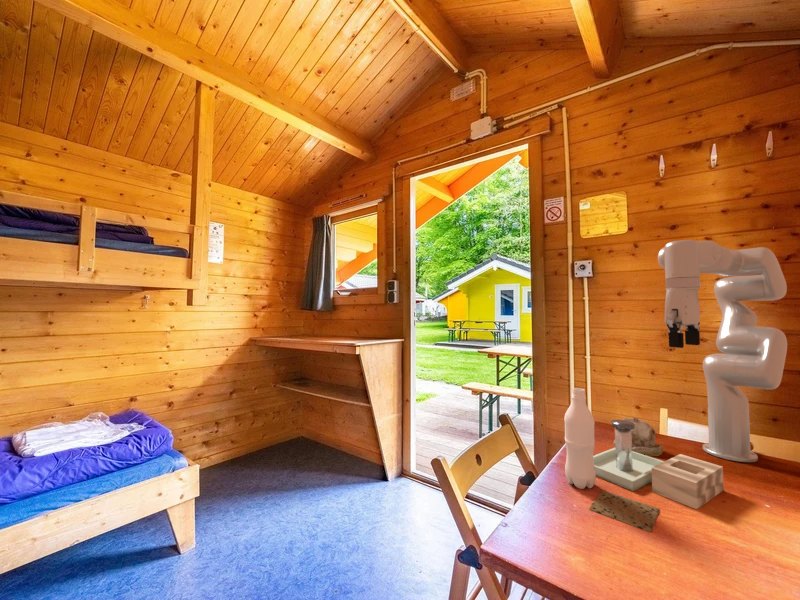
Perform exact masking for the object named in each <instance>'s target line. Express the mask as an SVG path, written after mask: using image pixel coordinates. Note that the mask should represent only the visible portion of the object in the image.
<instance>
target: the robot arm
mask: <svg viewBox="0 0 800 600" xmlns="http://www.w3.org/2000/svg"><path fill="white" fill-rule="evenodd" d="M657 262H658V264H659V266H660V267H661V268H662V269H663V270H664V273H665V274H664V277H665V291H666V293H665V298H664V299H665V301H664V323H665V325H666V326H667V333H668V347H670V348H675V349H676V348H678V349H683V348H684V347H685V346H684V345H686V346H687V345H689V346H690V345H691V346H700V344H701V338H700V337H701V336H700V324H701V322H700V321H701V309H700V307H701V306H700V298H699V292H698V290H701V274H711V275H716V276H717V275H718V276H722V277H723V278H720V279H718V280H716V282H715V283H714V287H713V292H714V296H715V299H716V301H717V304H718V307H719V309H720V311H721V321H720V324H719V327H718V331H717V335H716V339H715V345H716V348H717V351H720V352H721V353H712V354H709V355H706V356H705V358H703V362H702V371H703V375H704V379H705V383H706V391H707V392H706V393H707V421H708V424H707V425H708V442H706V443H703V444H702V450H703V451H704V452H706V453H707V454H710V455H712V456H714V457H717V458H720V459H724V460H728V461H733V462H738V463H740V462H741V463H756V462H757V461H758V460H759V457H758V454H756V453H755V452H753V451H751V431H750V430H751V429H750V427H751V426H750V403H749V399H748V397H747V396H746V394H745V393H744V392H743V391H742V389H741V388H740V387H746V388H753V389H759V390H771V391H772V390H775V389H777V388H778V387H779V386H780V385H781V382H782V378H783V373H784V367H785V363H786V357H787V353H788V352H787V351H788V340H787V339H788V338H787V337H786V333H784V331H782V330H781V329H779V328H776V327H771V326H768V327H767V326H757V323H758V315H757V314H756V313H755V311H753V310H752V309H751V308H750V307H748V306H747V305H745V304H743V302H749V301H750V302H761V301H762V302H763V301H764V302H765V301H768V302H769V301H771V302H772V301H778V300H781V299H783V298H784V297H785V296H786V294H787V293H788V292H787V290H788V287H787V281H786V278H785V276H784V273H783V271H782V268H781V265H780V263H779V260H778V258H777V257H776V255H775V253H774V252H773V250H771V249H770V248H768V247H765V246H760V247H759V246H758V247H752V248H742V249H730V248H727V247H723V246H720V245H719V244H718V243H717V242H715V241H714V240H713V241H712V240H698V241H697V240H694V239H681V240H674V241H670V242H667V243H666V244H665V246H663V247H662V248H661V249H659V252H658V254H657ZM684 327H685V330H684V333H683V328H684Z"/></svg>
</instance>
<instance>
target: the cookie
mask: <svg viewBox="0 0 800 600" xmlns="http://www.w3.org/2000/svg"><path fill="white" fill-rule="evenodd" d="M588 510H589V511H591V512H594V513H596V514H599V515H601V516H605V517H608V518H610V519H612V520H615V521H618V522H621V523H623V524H626V525H629V526H632V527H635V528H637V529H640V530H641V531H645V532H648V533H652V531H653V529H654V526H655V524H656V521H657V519H658V515H660V514H659V513H660V512H661V511H660V510H661V509H660V508H659V507H656V506H653V505H649V504H647V503H643V502H641V501H637V500H634V499H632V498H628V497H625V496H623V495H619V494H616V493H612V492H610V491H606V490H602V491H601V492H600V493H599V495H598V497H596V499H595V500H594V501H593V502H591V505H590V506H589V508H588Z"/></svg>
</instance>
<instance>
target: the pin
mask: <svg viewBox="0 0 800 600" xmlns="http://www.w3.org/2000/svg"><path fill="white" fill-rule="evenodd" d="M610 423H611V424H610V425H611V426H612V427H613V428H614V440H615V445H614V448H615V449H616V468H617V469H618V470H620V471H624V472H632V471H633V460H632V434H631V430H632V429H635V424H634V423H632V422H629V421H625V420H623V419H612V420H611V421H610Z"/></svg>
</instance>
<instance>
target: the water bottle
mask: <svg viewBox="0 0 800 600" xmlns="http://www.w3.org/2000/svg"><path fill="white" fill-rule="evenodd" d="M571 390H572V393H571V399H572V400H571V403H570V405H569V406H568V408H567V410H566V411H565V413H564V418H563V419H564V420H563V421H564V441H565V442H564V443H565V448H566V458H565V459H566V460H565V466H564V474H565V477H566V480H567V483H569V484H570V485H573V484H574V486H575V487H576V488H577V489H581V490H584V489H585V488H586V487H587V488H588V489H591V488H593V486H594V485H595V482H596V477H597V476H596V471H595V467H594V461H593V456H594V449H595V444H596V442H595V441H596V440H595V424H596V423H595V418H594V417H593V414H592V412H591V411H590V408H589V407H588V405H587V401H586V399H587V397H586V396H587V395H586V390H585V388H582V387H581V388H580V387H572V389H571Z"/></svg>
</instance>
